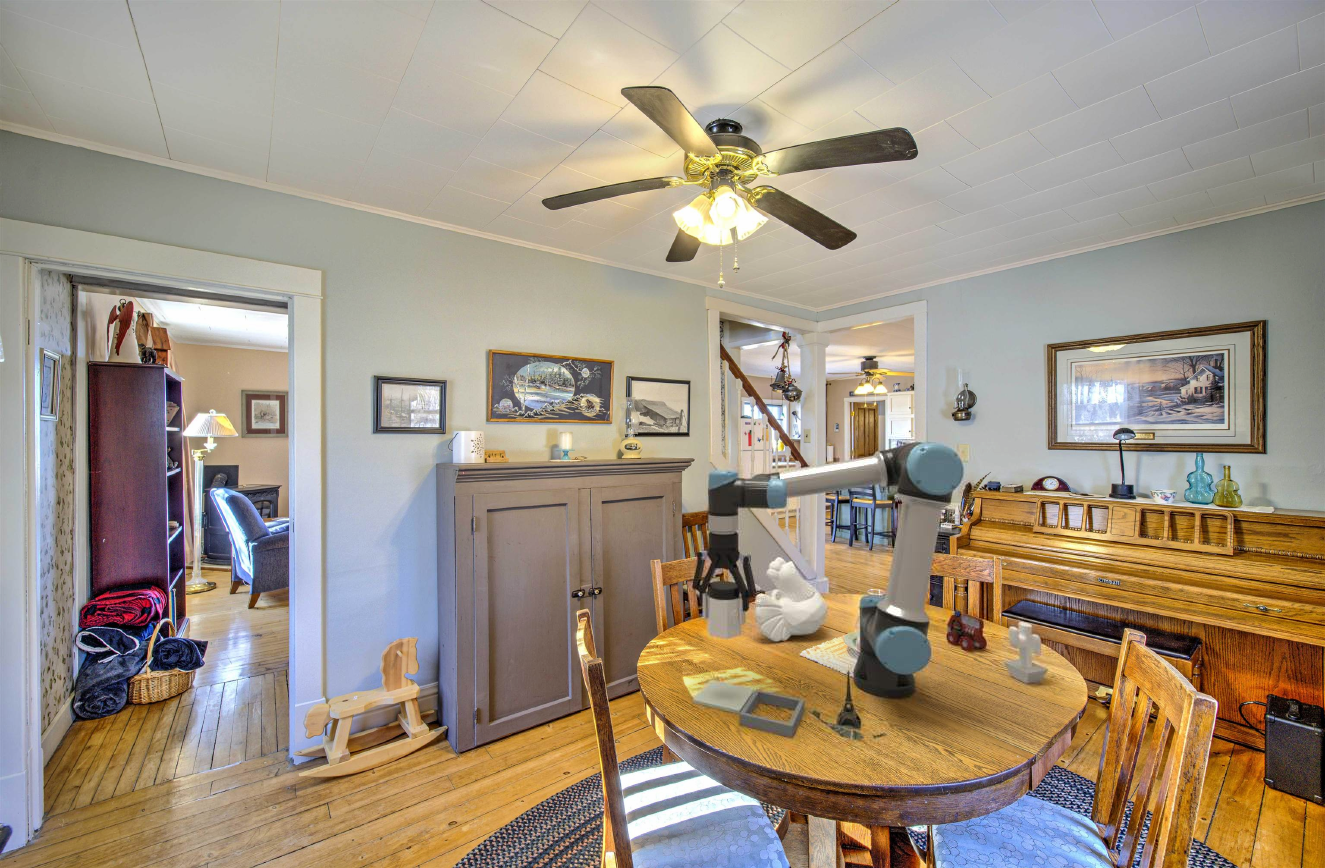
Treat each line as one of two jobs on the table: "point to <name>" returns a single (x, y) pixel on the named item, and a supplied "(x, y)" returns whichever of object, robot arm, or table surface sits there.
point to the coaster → (724, 696)
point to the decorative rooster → (789, 604)
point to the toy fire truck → (966, 631)
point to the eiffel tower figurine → (847, 719)
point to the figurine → (1025, 654)
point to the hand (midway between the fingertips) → (723, 620)
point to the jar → (723, 609)
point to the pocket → (770, 724)
